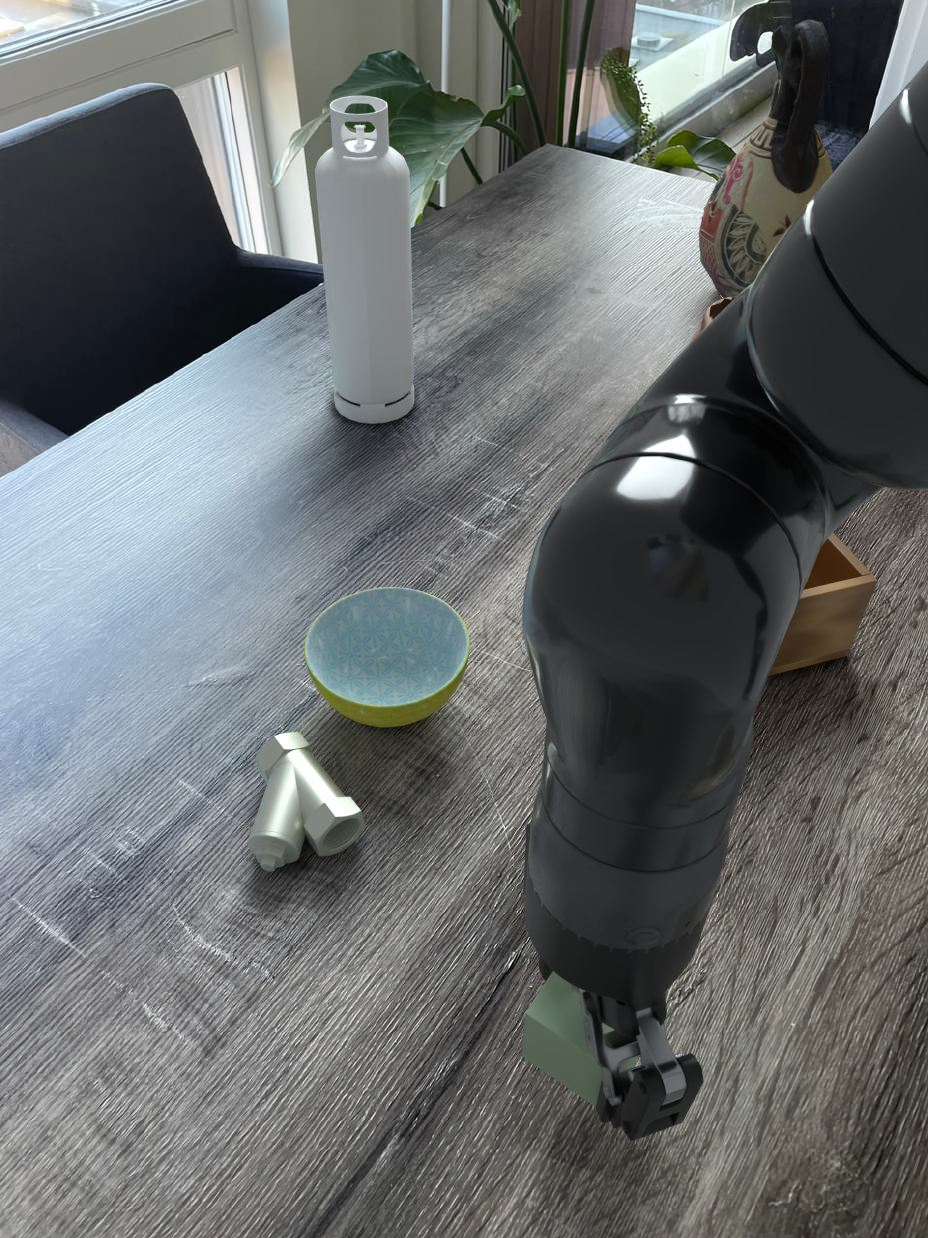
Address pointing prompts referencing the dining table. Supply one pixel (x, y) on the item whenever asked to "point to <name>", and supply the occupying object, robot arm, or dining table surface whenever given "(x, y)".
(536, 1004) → the block
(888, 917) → the dining table surface
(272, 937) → the dining table surface
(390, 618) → the bowl
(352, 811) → the pipe fitting
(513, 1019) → the dining table surface
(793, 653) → the chest
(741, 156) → the ceramic jug
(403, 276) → the bottle
